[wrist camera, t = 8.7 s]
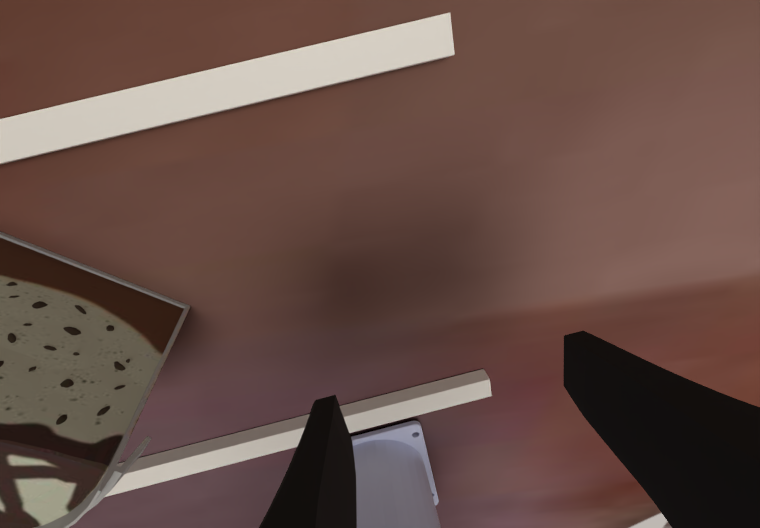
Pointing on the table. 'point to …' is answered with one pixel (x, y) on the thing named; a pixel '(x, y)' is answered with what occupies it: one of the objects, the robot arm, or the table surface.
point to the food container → (71, 380)
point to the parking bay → (221, 94)
